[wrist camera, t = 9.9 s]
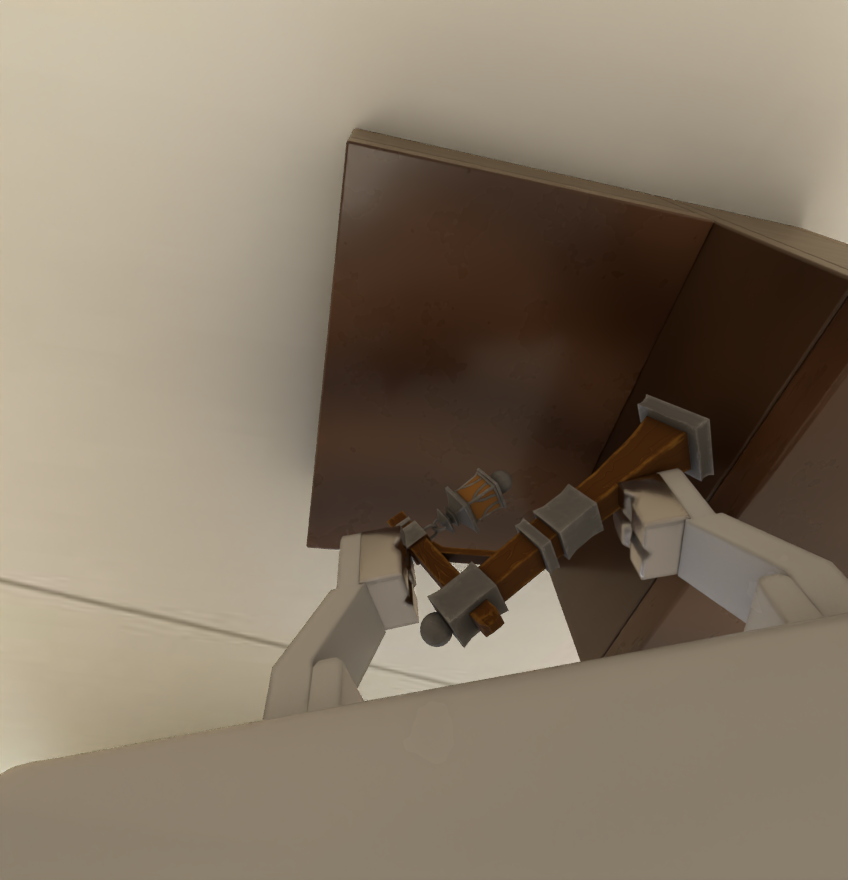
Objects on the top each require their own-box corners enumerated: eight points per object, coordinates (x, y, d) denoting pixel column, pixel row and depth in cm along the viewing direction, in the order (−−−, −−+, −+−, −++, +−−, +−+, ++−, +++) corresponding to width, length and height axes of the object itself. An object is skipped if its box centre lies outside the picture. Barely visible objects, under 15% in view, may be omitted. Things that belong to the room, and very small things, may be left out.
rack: (635, 514, 26) (754, 713, 18) (316, 482, 23) (283, 700, 15) (802, 228, 18) (1149, 348, 10) (352, 127, 15) (326, 180, 7)
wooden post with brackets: (349, 524, 14) (424, 646, 10) (578, 366, 15) (718, 422, 11) (377, 565, 15) (456, 689, 11) (590, 413, 16) (721, 478, 12)
